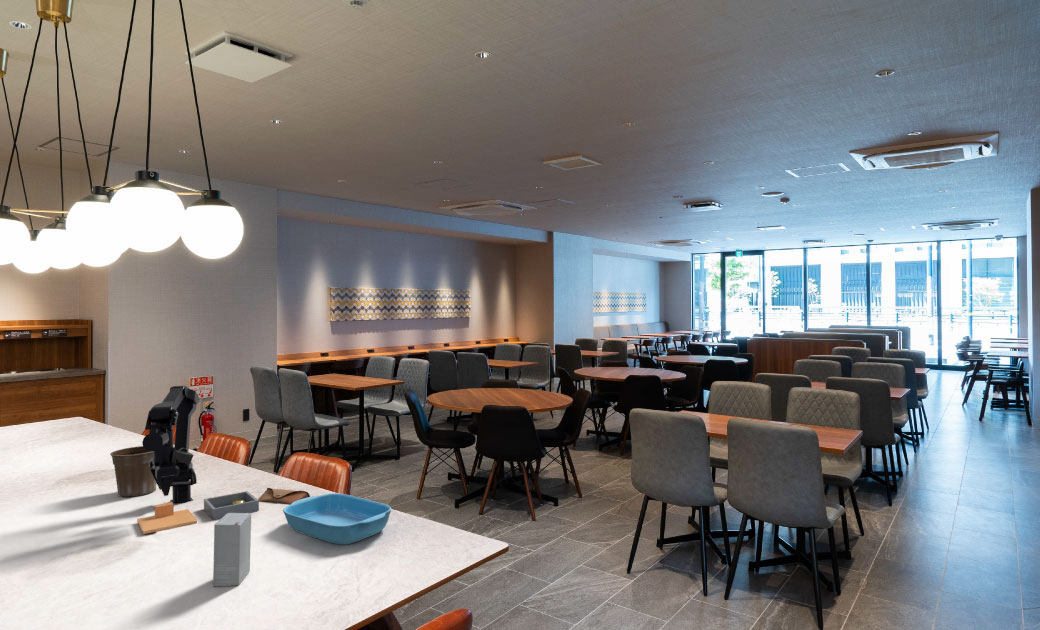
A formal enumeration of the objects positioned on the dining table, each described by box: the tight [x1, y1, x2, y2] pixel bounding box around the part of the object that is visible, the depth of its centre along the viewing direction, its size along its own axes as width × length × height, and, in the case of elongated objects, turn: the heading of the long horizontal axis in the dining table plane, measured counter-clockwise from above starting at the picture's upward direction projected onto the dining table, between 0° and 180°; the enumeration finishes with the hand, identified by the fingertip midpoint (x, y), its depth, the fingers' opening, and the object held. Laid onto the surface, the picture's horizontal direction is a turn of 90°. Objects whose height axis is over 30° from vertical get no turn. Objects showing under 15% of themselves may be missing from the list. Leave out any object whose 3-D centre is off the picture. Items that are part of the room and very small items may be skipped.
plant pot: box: [110, 445, 157, 498], centre depth 227 cm, size 16×16×16 cm
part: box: [232, 499, 245, 505], centre depth 209 cm, size 4×4×2 cm
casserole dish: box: [282, 492, 392, 546], centre depth 187 cm, size 37×22×7 cm, turn 55°
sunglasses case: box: [257, 487, 311, 505], centre depth 216 cm, size 18×7×7 cm
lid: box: [136, 502, 198, 535], centre depth 193 cm, size 15×15×5 cm
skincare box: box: [212, 512, 252, 587], centre depth 152 cm, size 8×7×16 cm
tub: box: [203, 490, 260, 521], centre depth 205 cm, size 14×14×4 cm
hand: (163, 492), depth 197 cm, fingers open, 9 cm apart
